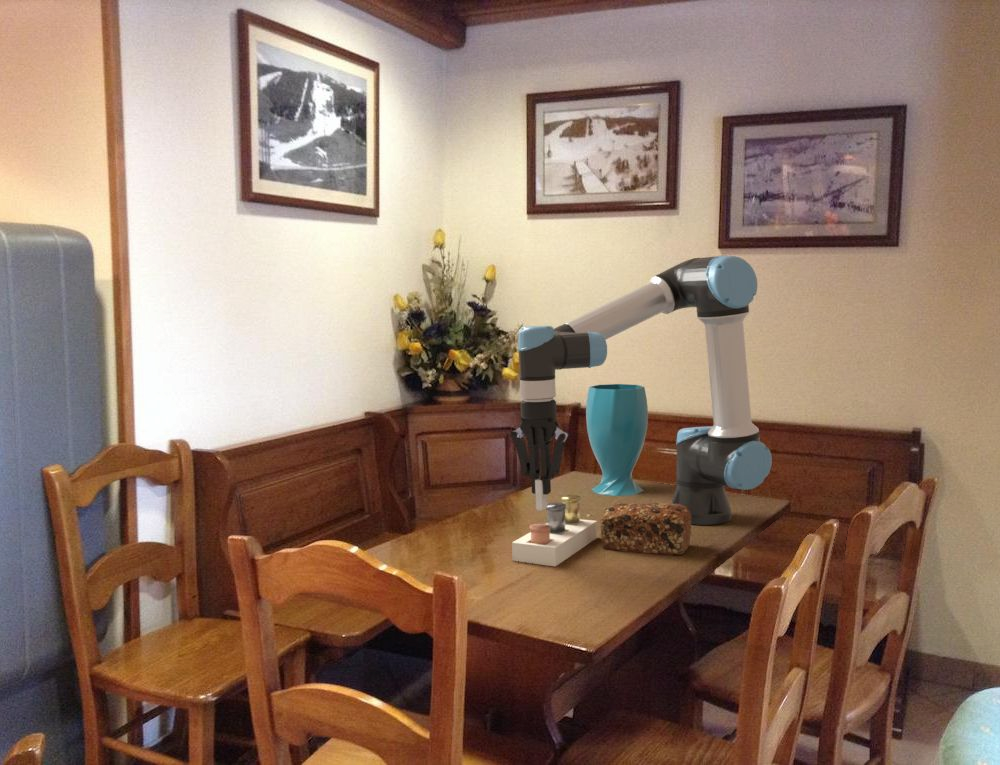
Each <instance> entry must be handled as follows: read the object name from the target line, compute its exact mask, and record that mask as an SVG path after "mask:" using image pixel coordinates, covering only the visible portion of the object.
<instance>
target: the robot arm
mask: <svg viewBox="0 0 1000 765" xmlns="http://www.w3.org/2000/svg"><path fill="white" fill-rule="evenodd" d="M648 280H649V281H648V283H647V284H644V285H642V286H640V287H639V288H637V289H634V290H632V291H630V292H629V293H627V294H624V295H621V296H620V297H618V298H615V299H613V300H612V301H609V302H607V303H605V304H603V305H601V306H599V307H597V308H595V309H592V310H590V311H588V312H586V313H584V314H582V315H580V316H577V317H575V318H574V319H572V320H569V321H567V322H565V323H563V324H560V325H559V326H557V327H553V326H552V325H528V326H522V327H521V328H520V329H519V330H518V340H517V342H518V344H517V345H518V346H517V351H518V363H519V397H520V399H522V400H521V402H520V417H521V421H520V423H519V427H517V429H516V430H513V431H510V432H509V435H510V437H511V439H512V441H513V442H514V444H515V449H516V453H517V457H518V461H519V464H520V469H521V472H522V475H523V476H527V477H529V478H530V480H531V493H532V494H534V495H535V511H544V510H547V509H546V508H548V495H549V494H550V493H551V491H552V489H551V488H552V487H551V483H552V482H551V479H552V478H555V477H556V476H558V475H559V474H560V469H561V465H562V464H561V463H562V458H563V453H564V448H565V445H566V444H565V443H566V442H567V440H568V438H569V436H570V433H569V432H568V431H563V429H561V428H559V427H560V426H559V423H558V422H557V401H556V400H555V399H554V398H556V395H557V393H556V391H557V390H556V389H557V388H556V371H557V370H565V369H570V370H571V369H584V368H585V369H586V368H588V369H591V368H595V367H600V366H602V365H603V364H604V363H605V361H606V359H607V357H608V344H607V341H606V340H608V339H610V338H612V337H614V336H616V335H618V334H621V333H623V332H624V331H627V330H629V329H630V328H632V327H634V326H637V325H639V324H641V323H643V322H646V321H647V320H649V319H651V318H653V317H655V316H658V315H660V314H661V313H662V314H665V315H669V314H671V313H673V312H675V311H678V310H681V309H688V308H696V317H697V319H698V320H699V321H701V322H702V323H703V324H704V331H705V340H706V353H707V364H708V365H707V366H708V376H709V387H710V397H711V409H712V410H711V411H712V420H713V421H712V422H713V425H711V426H710V425H709V426H707V425H706V426H692V427H684V428H681V429H679V430H678V431H677V433H676V435H677V436H676V443H675V446H676V488H675V491H674V495H673V497H672V501H671V502H670V503H671V504H681V505H684V506H687V507H688V508H689V509H690V514H691V525H696V526H697V525H698V526H699V525H700V526H701V525H702V526H703V525H704V526H709V525H710V526H712V525H719V524H720V525H721V524H725V523H728V522H731V520H732V508H731V505H730V504H731V503H730V502H729V499H728V495H727V493H726V490H725V486H726V487H727V486H728V487H729V488H732V489H735V490H737V489H738V490H744V491H745V490H747V491H748V490H753V489H755V488H757V487H759V486H760V485H761V484H763V483H764V480H765V478H767V477H768V476H769V474H770V471H771V468H772V465H773V464H772V463H773V458H772V454H771V450H770V449H769V447H768V446H766V444H765V443H763V442H762V441H761V439H760V430H759V427H758V426H756V425H755V424H754V423H753V422H752V413H751V402H750V401H751V400H750V398H751V397H750V387H749V377H748V376H749V375H748V365H747V354H746V353H747V352H746V340H745V330H744V319H746V318H747V316H748V315H749V314H750V306H749V304H751V303H752V302H753V301H754V296H756V295H757V292H758V277H757V275H756V272H755V270H754V267H753V266H751V264H750V263H749V262H747V260H746V259H743V258H742V257H739V256H734V255H726V254H724V255H718V256H709V257H707V256H706V257H695V258H691V259H687V260H685V261H682V262H680V263H678V264H676V265H674V266H672V267H670V268H668V269H666V270H663V271H662V272H660V273H658V274H656V275H653V276H652V277H651V278H649V279H648ZM554 436H555V443H554V447H553V450H552V451H553V452H552V454H551V446H552V439H553V438H554ZM525 438H526V440H527V444H526V441H525ZM527 447H528V448H529V452H528V448H527ZM551 455H552V457H551Z"/></svg>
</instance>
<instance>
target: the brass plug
mask: <svg viewBox="0 0 1000 765" xmlns="http://www.w3.org/2000/svg"><path fill="white" fill-rule="evenodd" d="M560 499H561V500H560V501H561V503H564V504H566V509H565V523H567V524H575V523H579V522H580V519H581V514H580V513H581V512H580V511H581V510H580V509H581V508H580V506H581V504H580V502H581V501H582V500H581V496H580V495H577V494H565V495H562V496H561V498H560Z"/></svg>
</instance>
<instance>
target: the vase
mask: <svg viewBox="0 0 1000 765" xmlns="http://www.w3.org/2000/svg"><path fill="white" fill-rule="evenodd" d="M585 404H586V405H585V406H586V407H585V418H586V422H585V423H586V430H587V435H588V440H589V444H590V448H591V450H592V453H593V455H594V456H595V459H596V461H597V463H598V465H599V467H600V470H601V473H602V474H601V480H600V483H599V484H598V485H596V486H595V487H593V488H592V489H591V491H593V492H594V493H595V494H596V495H604V496H605V495H606V496H615V497H623V496H635V495H637V494H640V493H642V492H644V489H643V488H642V487H640V486H639V484H637V483H636V482H635V481H634V479H633V476H632V473H633V470H634V468H635V466H636V465H637V462H638V460H639V457H640V455H641V452H642V450H643V448H644V445H645V440H646V436H647V431H648V420H649V412H648V411H649V410H648V408H649V406H648V399H647V393H646V388H645V386H643V385H639V384H626V383H615V384H614V383H613V384H612V383H610V384H595V385H592V386H588V391H587V397H586V403H585Z"/></svg>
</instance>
